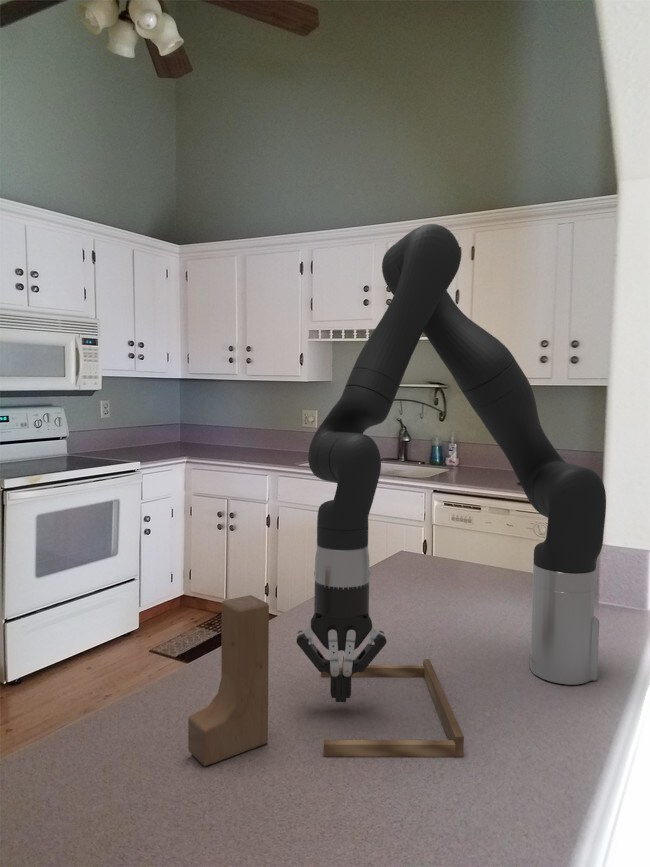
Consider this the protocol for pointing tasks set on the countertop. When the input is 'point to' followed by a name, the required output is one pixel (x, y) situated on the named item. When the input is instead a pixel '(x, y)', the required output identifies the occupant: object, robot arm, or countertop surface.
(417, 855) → the countertop surface
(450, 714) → the frame
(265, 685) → the wooden block
